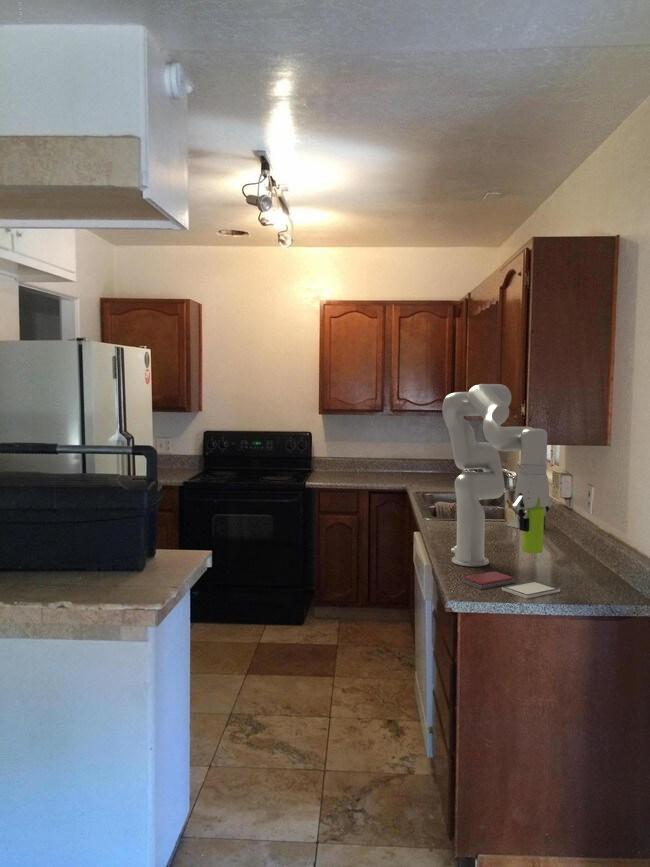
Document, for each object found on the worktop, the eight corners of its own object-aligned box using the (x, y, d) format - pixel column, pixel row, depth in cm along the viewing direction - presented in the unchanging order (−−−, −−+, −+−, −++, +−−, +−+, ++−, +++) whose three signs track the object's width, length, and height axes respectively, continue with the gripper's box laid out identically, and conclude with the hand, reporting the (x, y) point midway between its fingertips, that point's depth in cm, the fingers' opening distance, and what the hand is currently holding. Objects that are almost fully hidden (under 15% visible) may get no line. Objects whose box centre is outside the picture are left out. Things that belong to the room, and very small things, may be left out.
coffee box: (529, 527, 307) (529, 490, 306) (518, 528, 304) (518, 492, 303) (514, 523, 315) (515, 488, 314) (503, 525, 312) (504, 489, 311)
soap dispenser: (538, 547, 215) (541, 483, 213) (544, 553, 208) (548, 486, 206) (519, 547, 215) (522, 482, 213) (524, 553, 208) (527, 486, 206)
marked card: (501, 589, 213) (501, 586, 213) (534, 583, 220) (534, 580, 220) (526, 598, 204) (526, 595, 204) (560, 591, 211) (560, 588, 211)
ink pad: (461, 582, 221) (461, 576, 221) (494, 576, 228) (494, 570, 228) (481, 589, 213) (481, 583, 213) (515, 583, 220) (515, 577, 220)
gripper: (544, 467, 217) (543, 524, 218) (502, 470, 209) (501, 530, 210) (563, 469, 211) (562, 529, 212) (521, 473, 202) (520, 535, 203)
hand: (532, 529), depth 211 cm, fingers closed on soap dispenser, 5 cm apart
